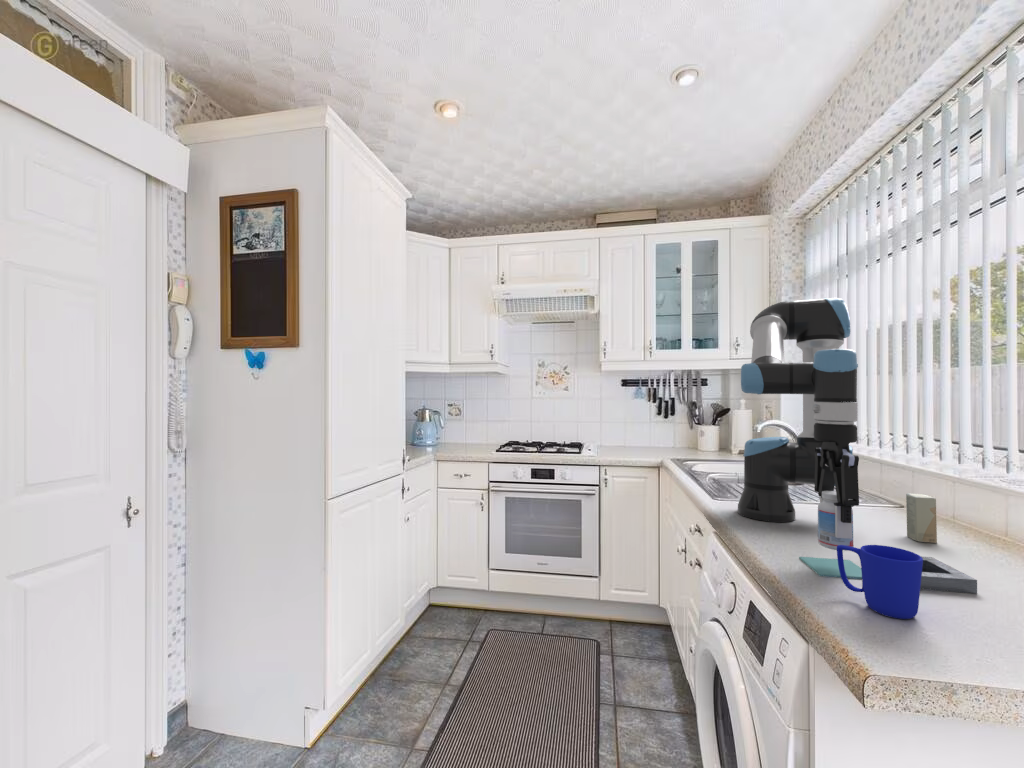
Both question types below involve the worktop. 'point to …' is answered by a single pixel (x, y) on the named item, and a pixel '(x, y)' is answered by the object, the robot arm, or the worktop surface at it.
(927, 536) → the box
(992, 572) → the worktop surface
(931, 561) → the grey square frame
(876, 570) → the mug
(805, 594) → the worktop surface
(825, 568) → the mat
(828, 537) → the pill bottle
